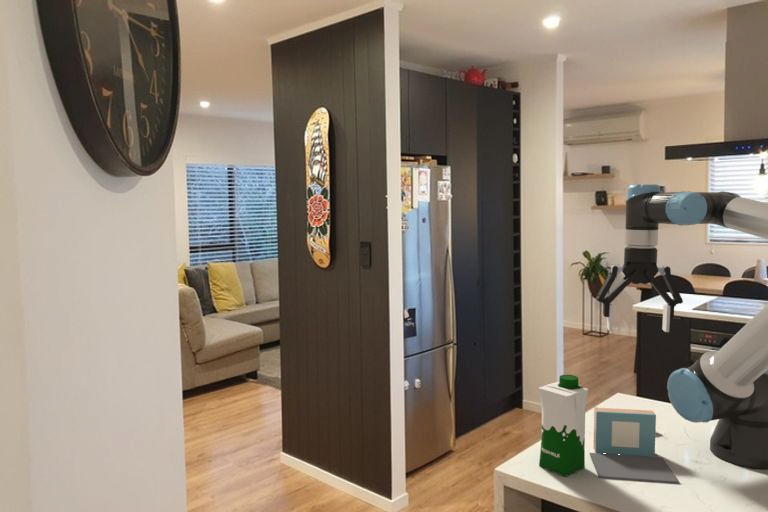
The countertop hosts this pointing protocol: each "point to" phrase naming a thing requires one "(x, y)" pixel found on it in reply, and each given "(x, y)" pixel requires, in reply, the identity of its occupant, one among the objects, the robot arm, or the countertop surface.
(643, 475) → the rubber mat
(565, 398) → the milk carton
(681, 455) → the countertop surface
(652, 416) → the terracotta tile
